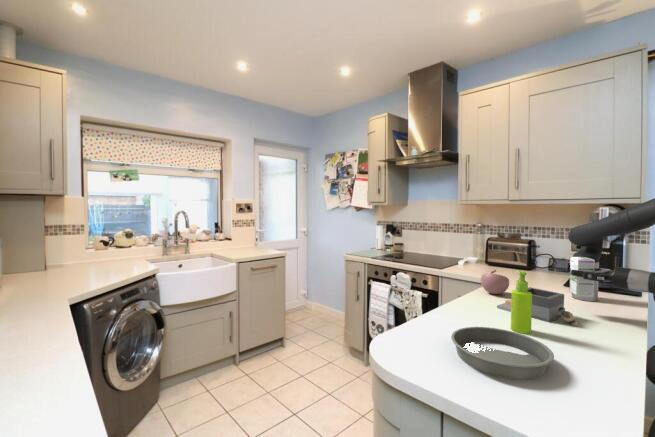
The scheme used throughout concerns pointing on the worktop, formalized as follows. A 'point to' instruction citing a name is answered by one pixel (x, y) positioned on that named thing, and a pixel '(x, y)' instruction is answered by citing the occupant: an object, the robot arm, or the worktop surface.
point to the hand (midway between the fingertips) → (576, 271)
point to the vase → (568, 316)
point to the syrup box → (578, 283)
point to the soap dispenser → (521, 306)
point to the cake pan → (503, 353)
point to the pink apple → (494, 283)
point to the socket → (542, 304)
